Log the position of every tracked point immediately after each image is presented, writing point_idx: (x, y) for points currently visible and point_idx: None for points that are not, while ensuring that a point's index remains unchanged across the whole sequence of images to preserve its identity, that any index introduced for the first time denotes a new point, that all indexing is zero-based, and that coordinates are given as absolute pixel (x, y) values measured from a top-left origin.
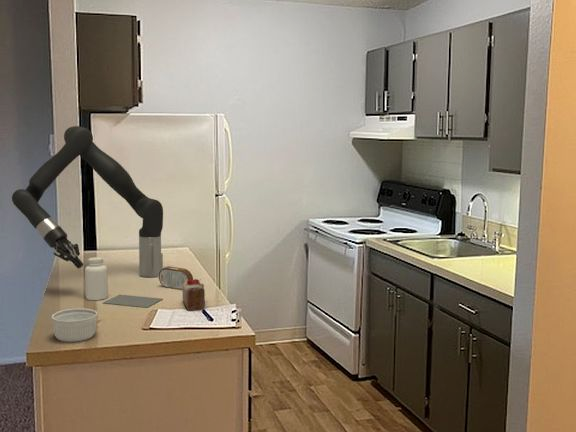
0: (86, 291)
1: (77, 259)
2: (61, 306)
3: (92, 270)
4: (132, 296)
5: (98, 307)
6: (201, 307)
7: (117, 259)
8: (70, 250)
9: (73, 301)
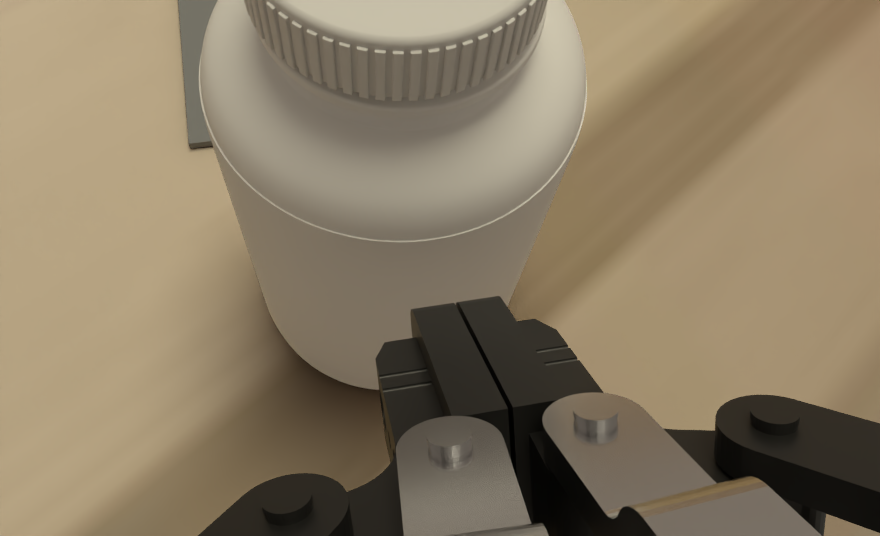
0: (513, 291)
1: (520, 367)
2: (838, 371)
3: (564, 4)
4: (205, 7)
5: (636, 65)
6: None
7: None
8: (717, 528)
9: None
